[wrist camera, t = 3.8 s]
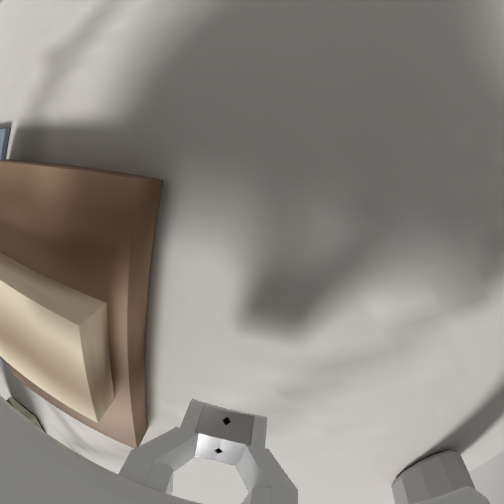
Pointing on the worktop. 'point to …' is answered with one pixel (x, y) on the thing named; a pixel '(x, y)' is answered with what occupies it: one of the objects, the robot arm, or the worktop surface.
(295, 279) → the worktop surface
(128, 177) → the brown flat wooden slab
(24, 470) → the robot arm
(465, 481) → the water bottle
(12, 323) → the tile
